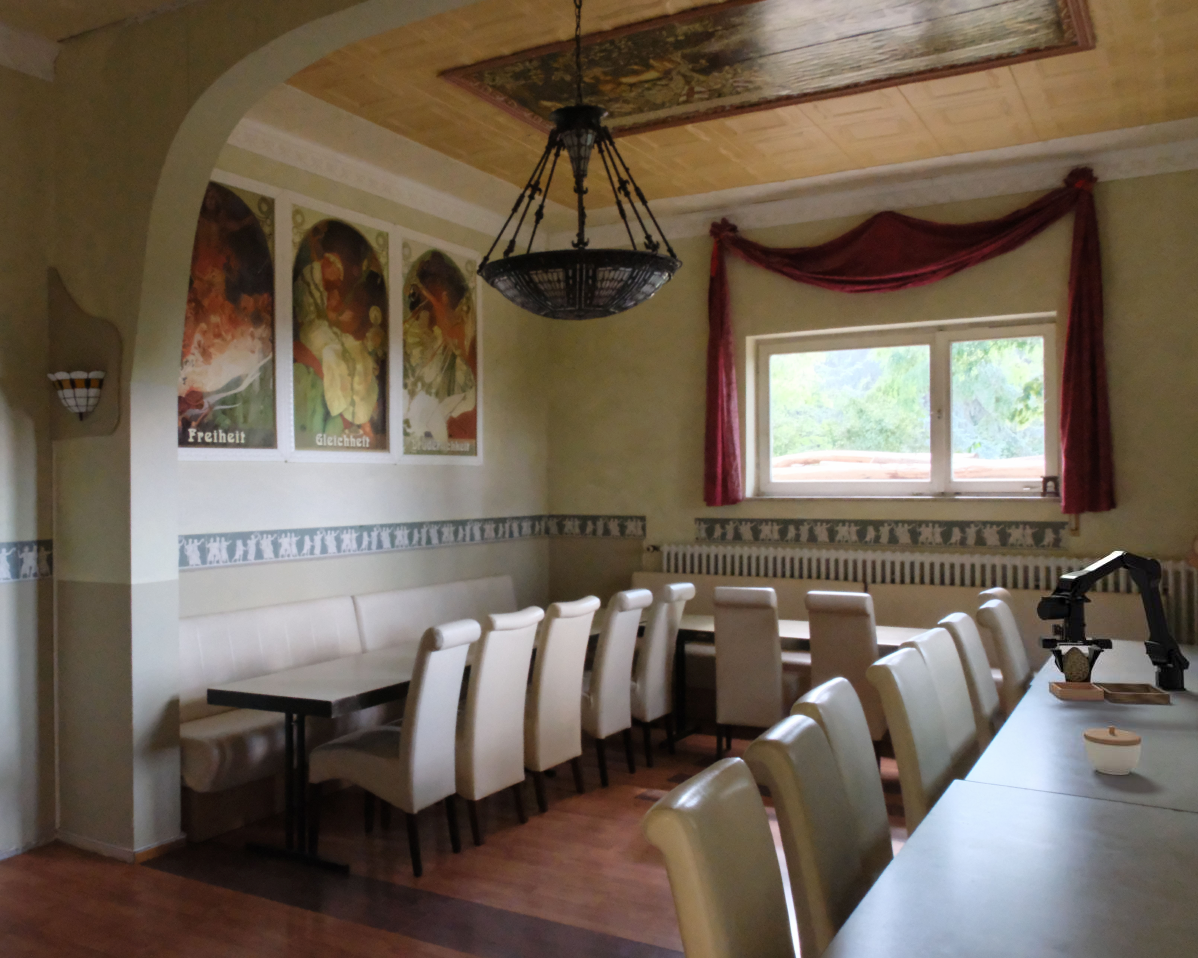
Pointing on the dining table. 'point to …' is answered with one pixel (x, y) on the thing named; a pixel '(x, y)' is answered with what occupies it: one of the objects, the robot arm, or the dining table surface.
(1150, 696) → the tray
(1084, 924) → the dining table surface
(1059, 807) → the dining table surface
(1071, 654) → the decorative egg
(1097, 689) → the terracotta dish
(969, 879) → the dining table surface
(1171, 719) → the dining table surface
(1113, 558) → the robot arm
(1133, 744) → the lidded jar
